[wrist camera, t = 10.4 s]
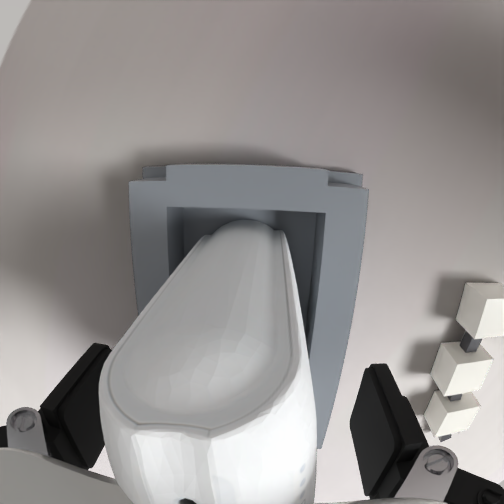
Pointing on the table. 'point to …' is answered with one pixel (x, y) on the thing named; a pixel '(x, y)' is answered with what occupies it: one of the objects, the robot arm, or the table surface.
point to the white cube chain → (465, 360)
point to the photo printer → (215, 381)
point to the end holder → (278, 218)
